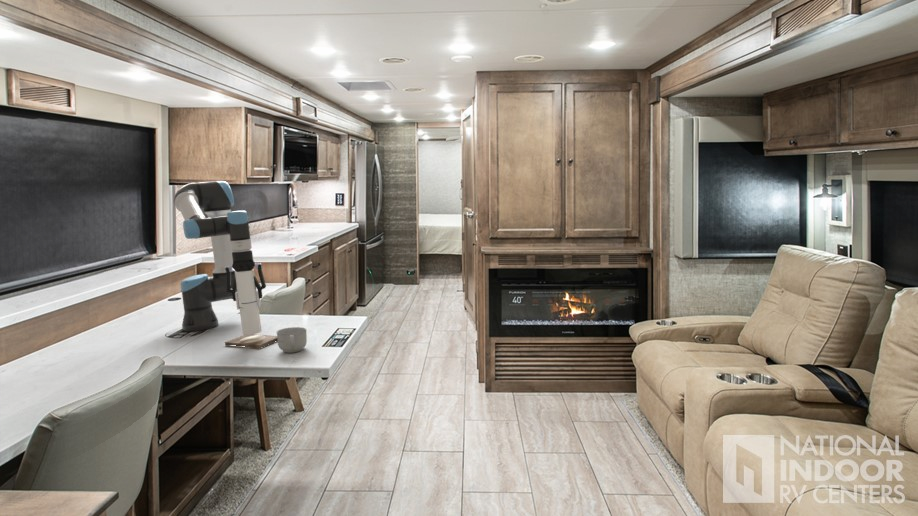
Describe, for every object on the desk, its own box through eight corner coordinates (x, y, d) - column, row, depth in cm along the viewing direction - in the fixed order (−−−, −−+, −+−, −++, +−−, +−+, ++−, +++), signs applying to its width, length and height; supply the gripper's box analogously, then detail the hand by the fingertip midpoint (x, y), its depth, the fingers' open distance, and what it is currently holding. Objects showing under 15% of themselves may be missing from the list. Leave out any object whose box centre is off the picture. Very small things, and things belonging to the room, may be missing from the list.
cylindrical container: (255, 334, 237) (247, 272, 233) (239, 334, 238) (230, 272, 235) (264, 329, 244) (257, 268, 240) (248, 329, 245) (241, 269, 242)
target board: (225, 345, 240) (224, 341, 240) (247, 337, 251) (247, 333, 251) (259, 348, 233) (259, 344, 233) (281, 339, 243) (280, 335, 243)
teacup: (282, 347, 233) (279, 327, 231) (310, 344, 233) (308, 324, 232) (274, 358, 219) (271, 337, 218) (304, 356, 220) (302, 334, 219)
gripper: (212, 254, 231) (220, 312, 234) (267, 249, 234) (274, 307, 238) (216, 251, 238) (224, 308, 242) (269, 247, 242) (276, 303, 245)
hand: (249, 307), depth 240 cm, fingers closed on cylindrical container, 7 cm apart
